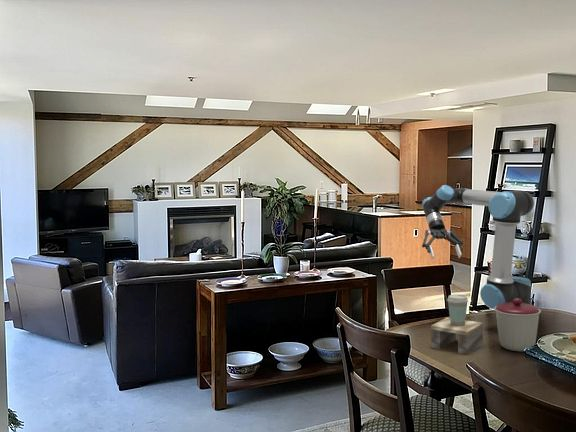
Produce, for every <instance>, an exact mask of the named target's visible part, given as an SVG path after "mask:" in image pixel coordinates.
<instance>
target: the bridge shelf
mask: <svg viewBox="0 0 576 432" xmlns="http://www.w3.org/2000/svg"><path fill="white" fill-rule="evenodd" d="M483 325H484V323H483V322H479V321H472V320H467V319H466V320H465V325H463V326H455V325H452V324H451V322H450V317H445V318H443V319H441V320H439V321H437V322H435V323H433V324H431V325H430V345H431V346H430V348H433V349H437V350H441V349H442V348H445V347H447V346H448V345H449V344H451V343H453V342H454V341H457V352H458V354H463V355H467V356H468V355H470V354H471V353H472V352H474V351H475V350H477V349H479V348H481V346H483V344H484V343H483V342H484V341H483V340H484V339H483V338H484V336H483V334H484V332H483V329H484V327H483ZM456 335H457V336H456Z"/></svg>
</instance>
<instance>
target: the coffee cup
mask: <svg viewBox="0 0 576 432" xmlns="http://www.w3.org/2000/svg"><path fill="white" fill-rule="evenodd" d="M446 301H447V302H448V303H447V305H448V311H449V313H448V314H449V318H450V322H451V324H452V325H455V326H463V325H465V320H467V319H466V317H467V312H468V311H467V309H468V303H469V298H468V296H467V295H465V294H450V295H448V298H447V300H446Z"/></svg>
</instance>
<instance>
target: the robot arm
mask: <svg viewBox="0 0 576 432" xmlns="http://www.w3.org/2000/svg"><path fill="white" fill-rule="evenodd" d="M447 204H450V205H451V204H463V205H464V204H465V205H466V204H467V205H474V206H475V205H476V206H483V207H488V212H489V213H490V215H491V217H492V222H493V223H494V224H495V229H494V239H493V248H492V249H493V250H492V260H491V261H492V262H491V268H490V269H491V270H490V271H491V272H490V274H489V276H487V278H486V283H485V284H484V285H483V286H482V287H481V289H480V293H479V294H480V299H481V300H482V302H483V304H484V305H485V306H486V307H488V308H489V309H493V310H494V307H495V306H497V305H499V304H502V303H508V302H513V299H514V298H519V299H521V300H522V303H526V304H531V305H532V283H531V282H532V281H531V280H530V279H529V278H526V277H520V276H513V275H512V269H513V257H514V248H515V238H516V229H517V226H518V225H519V224H520V223H521V217H524V216H526V215H528V214H530V212H532V211H533V209H534V206H535V201H534V197H533V196H532V194H530V193H529V192H527V191H525V190H510V191H509V190H508V191H505V190H504V191H502V192H501V191H491V190H480V189H469V188H466V187H465V188H464V187H460V188H453V187H451V186H450V185H447V184H444V185H441V186H440V187H439V188H438V189H437V190H436V192H435V193H434V194H433V195H432V196H428V197H426V198H424V199H423V200H422V202H421V205H422V210H423V212H424V216H425V218H426V222H427V224H428V228H429V230H428V229H426V230H425V231H424V239H423V241H422V245H421V247H422V248H425V249H426V252H427V253H428V254H429V256H430V258H431V260H434V257H435V254H434V253H435V252H434V251H433V247H432V243H433V242H434V241H435V239H437V240H445V241H448V243H451V244H452V245H453V246H454V247H455V251H456V255H457V257H458V259H461V257H462V246H463V244H464V241H463V240H462V239H461V238H460V237H459V236H458V235H457V234H456V232H454V231H453V229H452V228H450V229H448V230H447V229H446V226H445V224H444V220H443V217H442V214H441V209H443V207H445V205H447ZM430 235H431V238H430V239H429V240H428V237H429V236H430ZM427 240H428V241H427Z"/></svg>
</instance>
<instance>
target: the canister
mask: <svg viewBox="0 0 576 432" xmlns="http://www.w3.org/2000/svg"><path fill="white" fill-rule="evenodd" d="M493 310H494V312H495V317H496V324H497V326H496V327H497V334H498V340H499V343H500V345H501V347H502V348H504V349H506V350H509V351H512V352H513V351H514V352H525V351H524V349H525V348H527V347H531V346H534V345H535V346H536V341H537V340H536V339H537V335H538V327H539V319H540V314H541V313H542V310H541V309H540V308H539V307H537V306H535V305H534V304H532V303H531V304H526V303H522V300H521V299H519V298H514V299H513V302H508V303H502V304H499V305H497V306H495V307H494V309H493ZM535 346H534V347H535Z"/></svg>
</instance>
